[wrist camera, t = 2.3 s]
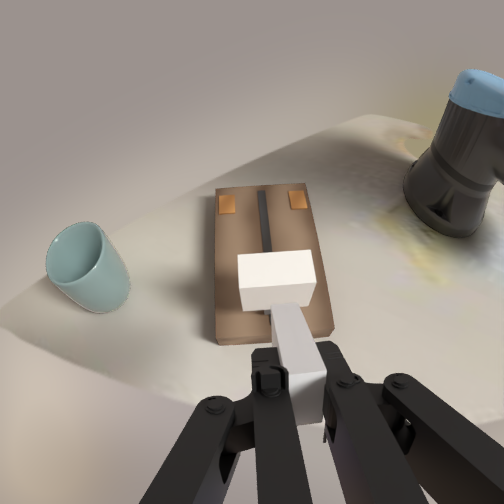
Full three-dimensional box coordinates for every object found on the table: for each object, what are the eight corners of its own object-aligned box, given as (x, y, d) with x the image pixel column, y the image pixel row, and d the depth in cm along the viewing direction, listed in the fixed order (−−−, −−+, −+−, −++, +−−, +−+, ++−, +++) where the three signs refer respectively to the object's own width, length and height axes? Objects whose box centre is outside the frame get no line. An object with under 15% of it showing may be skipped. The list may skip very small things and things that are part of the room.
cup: (83, 277, 37) (45, 236, 28) (132, 258, 38) (101, 210, 30) (90, 329, 33) (45, 295, 25) (144, 309, 34) (109, 269, 26)
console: (303, 198, 43) (305, 182, 40) (328, 336, 32) (335, 327, 29) (218, 203, 43) (215, 187, 40) (219, 345, 32) (215, 337, 29)
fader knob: (300, 289, 31) (310, 249, 25) (304, 316, 30) (316, 282, 23) (243, 293, 31) (237, 254, 25) (244, 320, 30) (238, 288, 23)
